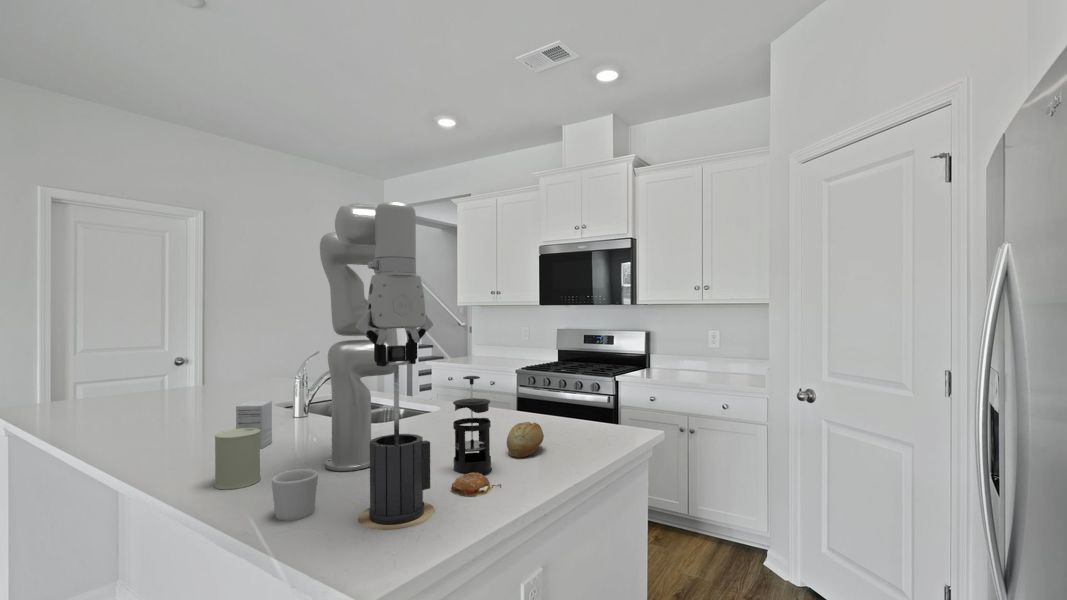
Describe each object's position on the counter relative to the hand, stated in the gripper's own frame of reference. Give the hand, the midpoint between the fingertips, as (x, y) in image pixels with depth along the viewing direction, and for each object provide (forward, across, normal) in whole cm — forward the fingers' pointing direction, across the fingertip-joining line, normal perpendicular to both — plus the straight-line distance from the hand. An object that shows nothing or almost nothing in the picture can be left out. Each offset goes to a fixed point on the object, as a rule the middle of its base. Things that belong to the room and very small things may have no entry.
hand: (396, 363), depth 95 cm
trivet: (+29, 0, 0) cm, 29 cm away
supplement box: (+29, -11, +77) cm, 83 cm away
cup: (+29, -14, +14) cm, 35 cm away
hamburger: (+30, +20, +3) cm, 36 cm away
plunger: (+18, 0, 0) cm, 18 cm away
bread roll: (+29, +46, +20) cm, 58 cm away
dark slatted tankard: (+28, 0, 0) cm, 28 cm away
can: (+29, -20, +43) cm, 56 cm away
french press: (+29, +26, +15) cm, 42 cm away
